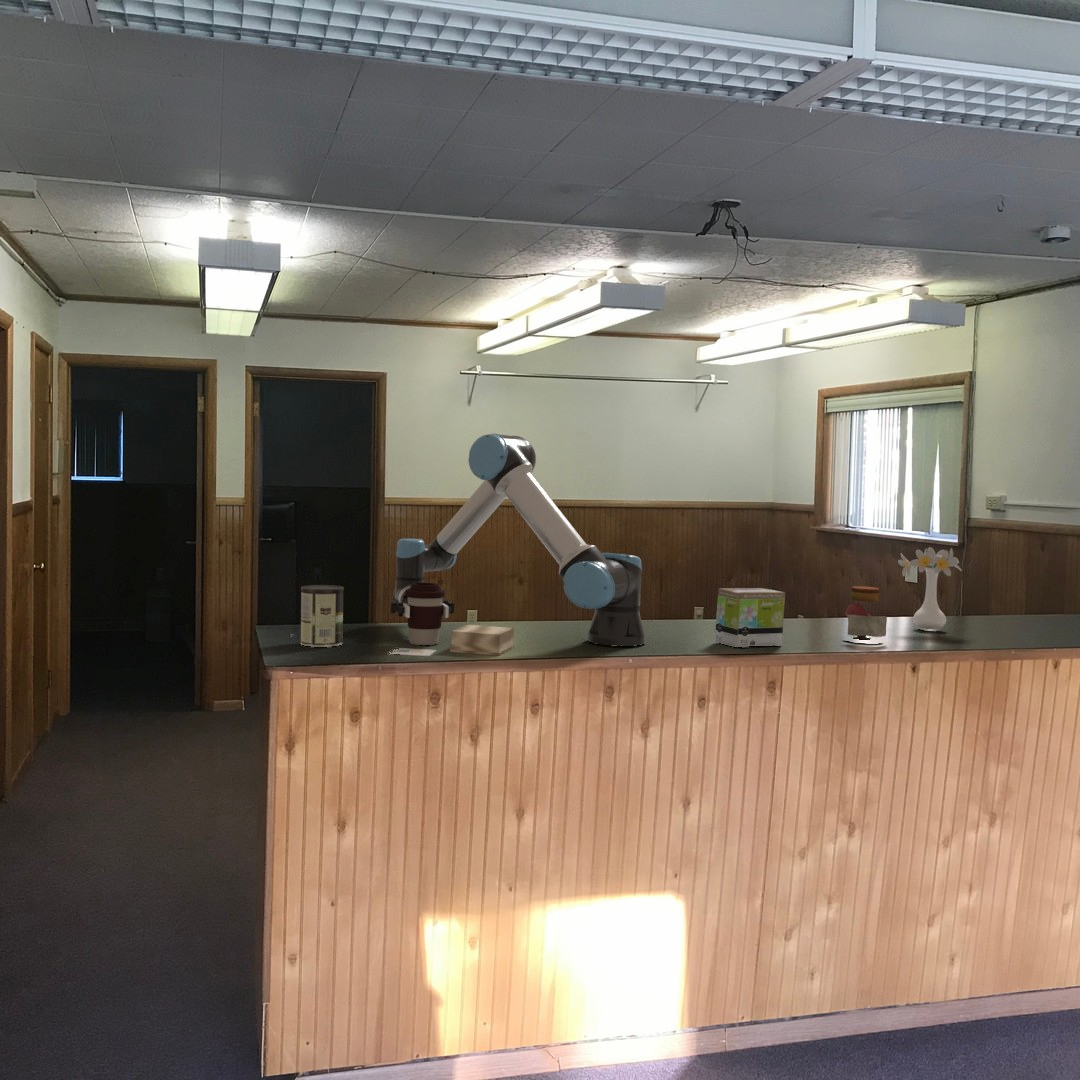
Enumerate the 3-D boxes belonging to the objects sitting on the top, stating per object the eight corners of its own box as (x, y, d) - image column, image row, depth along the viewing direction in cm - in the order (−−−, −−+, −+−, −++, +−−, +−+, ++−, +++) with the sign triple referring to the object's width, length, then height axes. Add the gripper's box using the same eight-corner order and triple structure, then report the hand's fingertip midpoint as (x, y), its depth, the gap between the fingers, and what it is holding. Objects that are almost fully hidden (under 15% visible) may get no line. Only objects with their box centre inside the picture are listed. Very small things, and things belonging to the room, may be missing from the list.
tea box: (737, 649, 277) (740, 592, 276) (713, 643, 285) (716, 587, 285) (783, 646, 284) (786, 590, 283) (759, 640, 292) (761, 586, 291)
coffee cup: (427, 648, 262) (429, 587, 261) (395, 643, 267) (397, 583, 266) (451, 643, 270) (453, 584, 269) (420, 639, 276) (422, 580, 275)
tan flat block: (514, 647, 267) (514, 627, 267) (499, 655, 255) (499, 634, 255) (466, 644, 270) (467, 624, 270) (449, 651, 258) (450, 631, 258)
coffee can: (326, 639, 270) (327, 583, 269) (351, 645, 263) (352, 587, 262) (291, 643, 262) (292, 586, 262) (316, 649, 256) (317, 590, 255)
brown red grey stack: (829, 638, 300) (832, 585, 299) (869, 638, 304) (872, 585, 303) (851, 645, 289) (854, 590, 288) (893, 645, 292) (896, 590, 291)
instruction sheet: (436, 650, 259) (436, 649, 259) (428, 656, 251) (428, 655, 251) (395, 648, 260) (395, 647, 260) (386, 654, 252) (386, 652, 252)
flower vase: (888, 627, 327) (892, 545, 325) (941, 627, 332) (946, 546, 330) (913, 634, 314) (918, 548, 313) (968, 633, 319) (973, 549, 317)
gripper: (454, 614, 288) (470, 627, 267) (372, 614, 283) (382, 627, 261) (455, 586, 288) (471, 597, 266) (373, 586, 282) (383, 596, 261)
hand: (427, 612), depth 264 cm, fingers closed on coffee cup, 9 cm apart
